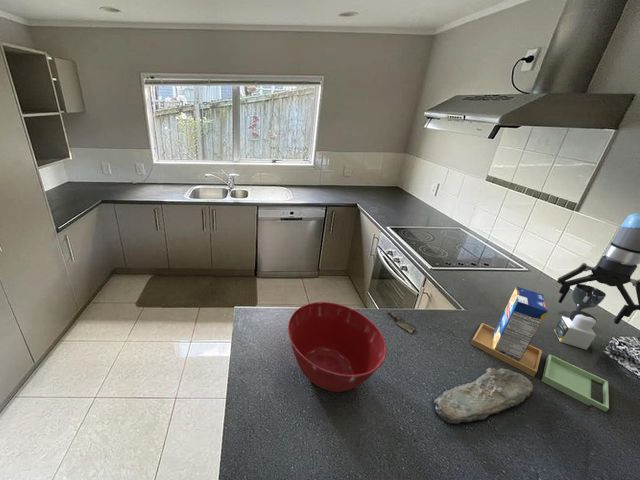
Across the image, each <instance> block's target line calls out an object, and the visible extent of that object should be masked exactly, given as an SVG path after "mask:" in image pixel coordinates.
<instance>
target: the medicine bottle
mask: <svg viewBox="0 0 640 480" xmlns="http://www.w3.org/2000/svg"><path fill="white" fill-rule="evenodd" d="M569 315H570V316H569V318H567V317H560V319H559V321H558V322H557V324H556V325H555V327H554V329H553V332H554V333H555V334H556V336H557V339H558V340H559V342H560V343H563V344H566V345H569V346H572V347H575V348H579V349H582V350H588V348H589V347H590V346H591V345H592V343H593V342H594V339H595V338H596V337H597V334H596V333H595V332H594V330H593V328H594V326H595V325H596V323H597V322H598V320H597V319H596V317H594V316H593V315H592V314H590V313H588V312H586V311H583V310H581V311H577V310H576V309H575V310H572V312H571V313H570V314H569Z"/></svg>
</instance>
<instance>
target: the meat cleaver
mask: <svg viewBox="0 0 640 480" xmlns="http://www.w3.org/2000/svg"><path fill="white" fill-rule="evenodd" d="M386 314H388V315H389V316H391V317H392V318H394V319H395V320H396V322H395V324H397V325H398V326H399V327H401V328H403V330H405V331H407V332H409V334H412V333H414V331H415V327H414V326H411V325H408V324H407V323H405V322H404V321H402V320H401V318H400V317H399V316H398V315H396V314H395V313H394V312H392V311H390V310H388V311H387V313H386Z"/></svg>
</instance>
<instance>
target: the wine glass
mask: <svg viewBox="0 0 640 480" xmlns="http://www.w3.org/2000/svg"><path fill="white" fill-rule="evenodd" d="M606 297H607V294H606V293H605V292H604V291H603V290H601V289H599V288H597V287H594V286H591V285H588V284H585V283H581V284H577V285H574V289H573V290H572V294H571V299H572V301H573V303H574V304H575V307H576V308H575V310H577V311H583V310H586V309H591V308H596V307H597V306H599V305H600V304H601V303H602V302H603V301H604V299H606ZM570 315H571V314H567V313H560V314H559V316H560V318H561V317H567V318H569V316H570Z"/></svg>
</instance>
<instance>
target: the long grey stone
mask: <svg viewBox="0 0 640 480" xmlns="http://www.w3.org/2000/svg"><path fill="white" fill-rule="evenodd" d="M532 392H534V386H533V383H532V382H531V380H530V379H529V378H527V377H526V376H525V375H523V374H521V373H519V372H515V371H512V370H510V369H506V368H503V367H502V368H499V369H496V368H492V367H488V368H487V369H485V373H484V374H481V375H480V376H478V377H477V378H476V379H475V380H473V381H472V382H467V383H463V384H461V385H458V386H455V387H452V388H451V389H448V390H445V391H443V393H442V394H439V396H438V397H437V398H436V399H434V400H433V404H434V405H435V407H434V410H435V412H436V413H437V416H439V417H440V418H441V420H442V421H445V422H446V423H448V424H455V425H457V424H461V423H471V422H476V421H479V420H486V419H487V417H490V416H491V415H493V414H495V415H496V414H497V415H498V414H499V413H501V412H503V411H506V409H510V408H512V407H517V406H519V405H520V403H523V402H525V399H526V398H528V397H529V398H530V396H531V394H532Z"/></svg>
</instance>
